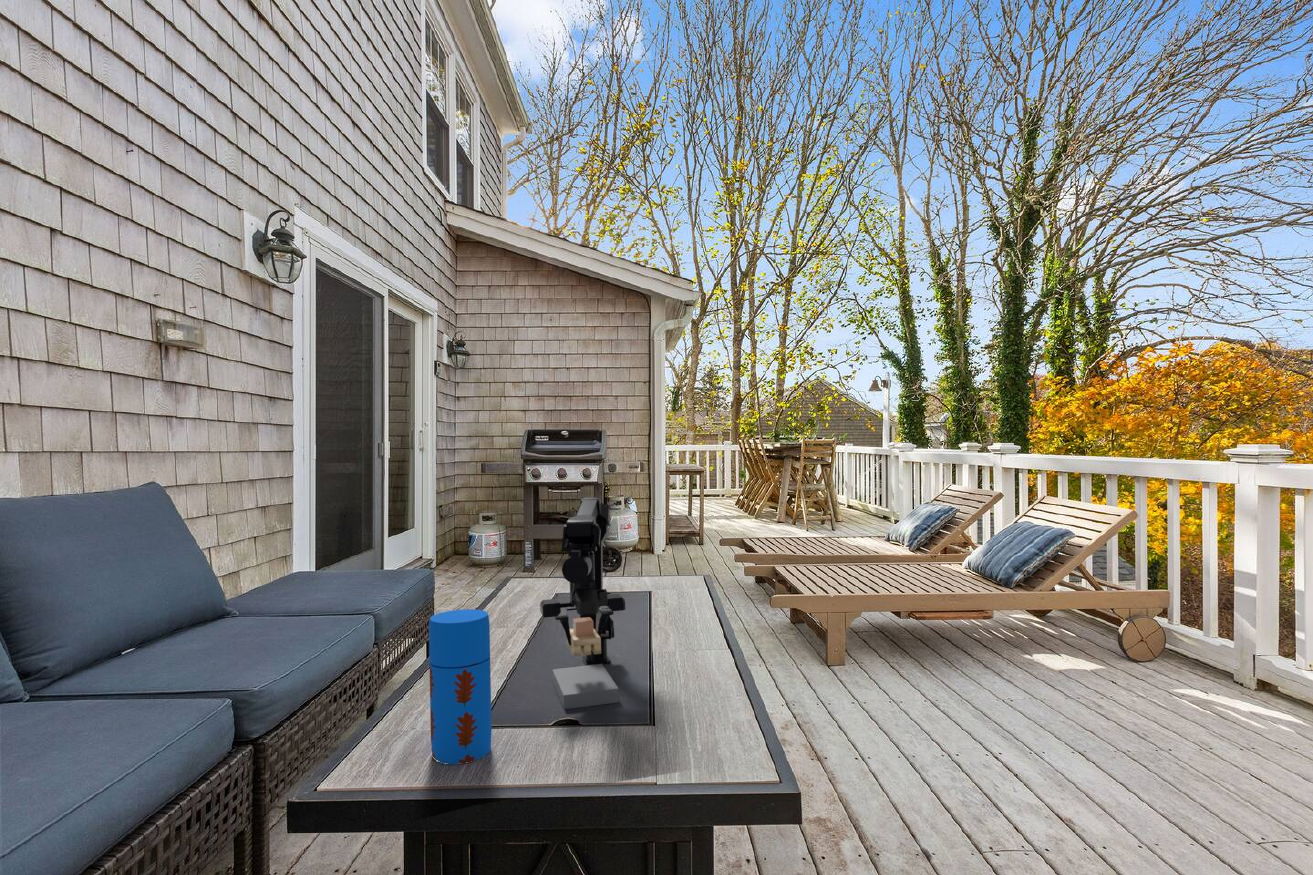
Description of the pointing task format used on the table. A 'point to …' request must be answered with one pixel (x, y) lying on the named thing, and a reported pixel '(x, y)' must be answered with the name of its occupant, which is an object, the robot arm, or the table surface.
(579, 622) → the block
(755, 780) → the table surface
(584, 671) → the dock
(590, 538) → the robot arm
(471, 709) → the thermos
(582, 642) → the tray
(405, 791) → the table surface
